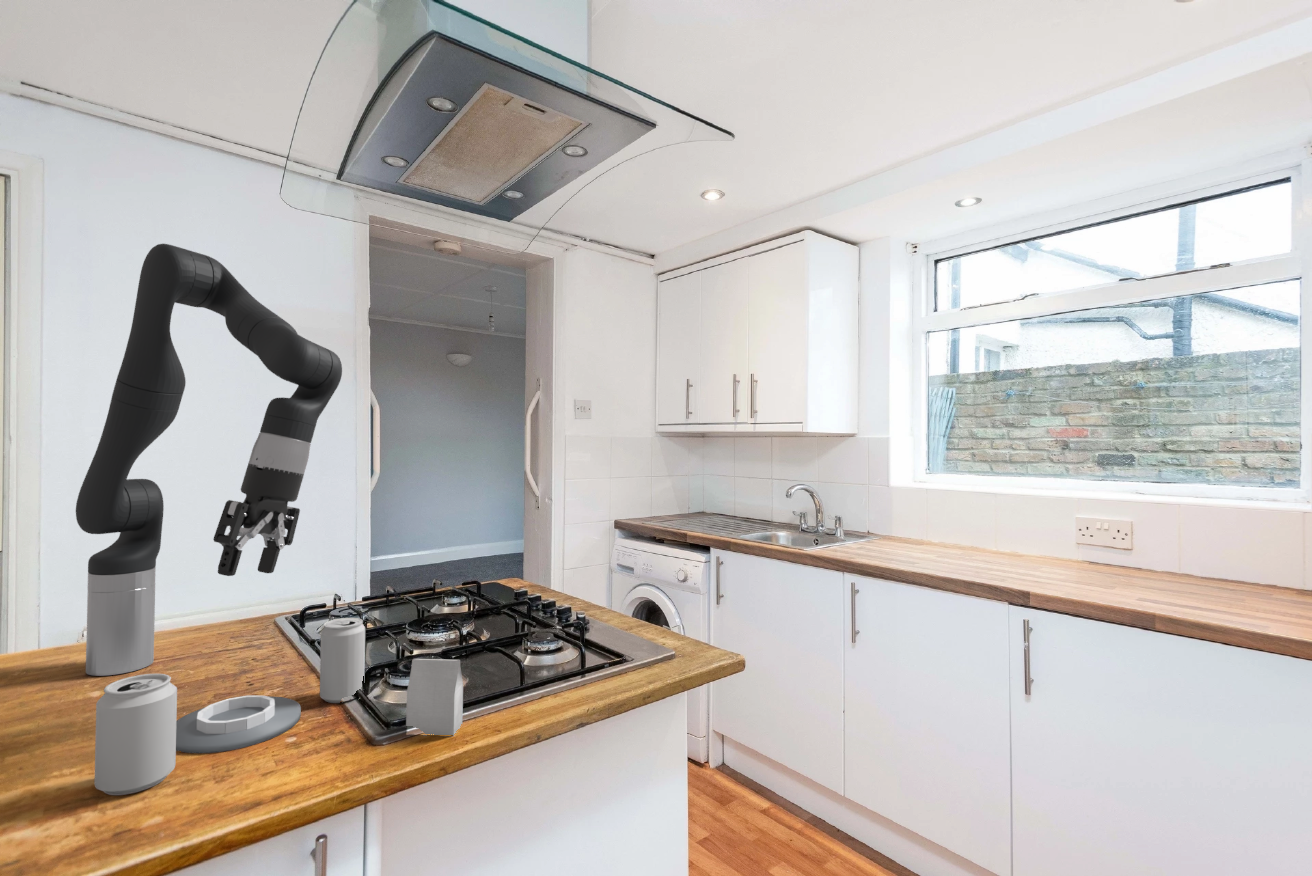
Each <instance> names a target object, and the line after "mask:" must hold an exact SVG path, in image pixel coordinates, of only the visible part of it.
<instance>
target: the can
mask: <svg viewBox="0 0 1312 876" xmlns="http://www.w3.org/2000/svg"><path fill="white" fill-rule="evenodd" d="M171 679H172V677H171V676H170V675H168V674H164V673H146V674H145V673H144V674H138V675H134V676H128V677H124V678H121V679H118V680H116V681H114V682H111V683H108V685H106V686H105V687H104V689H103V692H104V694H103V695H102V696H101V697H100V698H99V699H98V700H97V702H96V703H95V704H96V705H95V707H96V708H95V741H94V742H95V743H94V744H95V745H94V747H95V750H94V751H95V752H94V784H93V785H94V787H95V789H96V790H99V791H101V792H103V793H104V794H106V795H110V796H123V795H129V794H135V793H138V792H142V791H145V790H147V789H150V788H152V787H155V786H157V785H158V784H160V783H161V782H163V781H164V780H165V779H166V778H167V777H168V776H169V774H171V772H172V771H174V770H175V768H176V760H177V759H176V758H177V757H176V756H177V751H176V721H177V717H178V716H177V715H178V714H177V713H178V712H177V711H178V708H177V707H178V687H177V686H176V685H174V683H172V682H171Z"/></svg>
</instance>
